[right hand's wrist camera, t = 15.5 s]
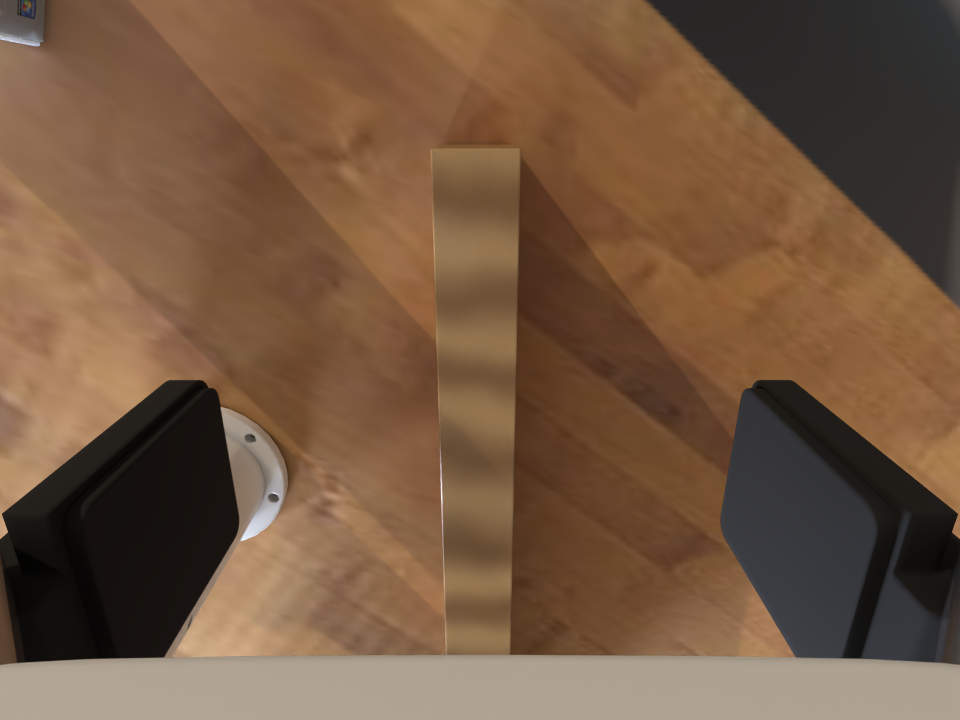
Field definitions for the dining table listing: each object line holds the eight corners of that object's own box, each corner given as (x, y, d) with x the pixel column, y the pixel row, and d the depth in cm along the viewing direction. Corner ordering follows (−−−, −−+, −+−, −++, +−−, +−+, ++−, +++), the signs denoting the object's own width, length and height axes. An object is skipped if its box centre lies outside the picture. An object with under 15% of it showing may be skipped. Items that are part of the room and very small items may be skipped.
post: (440, 144, 40) (430, 148, 32) (512, 144, 40) (521, 148, 32) (455, 767, 62) (452, 865, 53) (502, 767, 62) (506, 864, 53)
